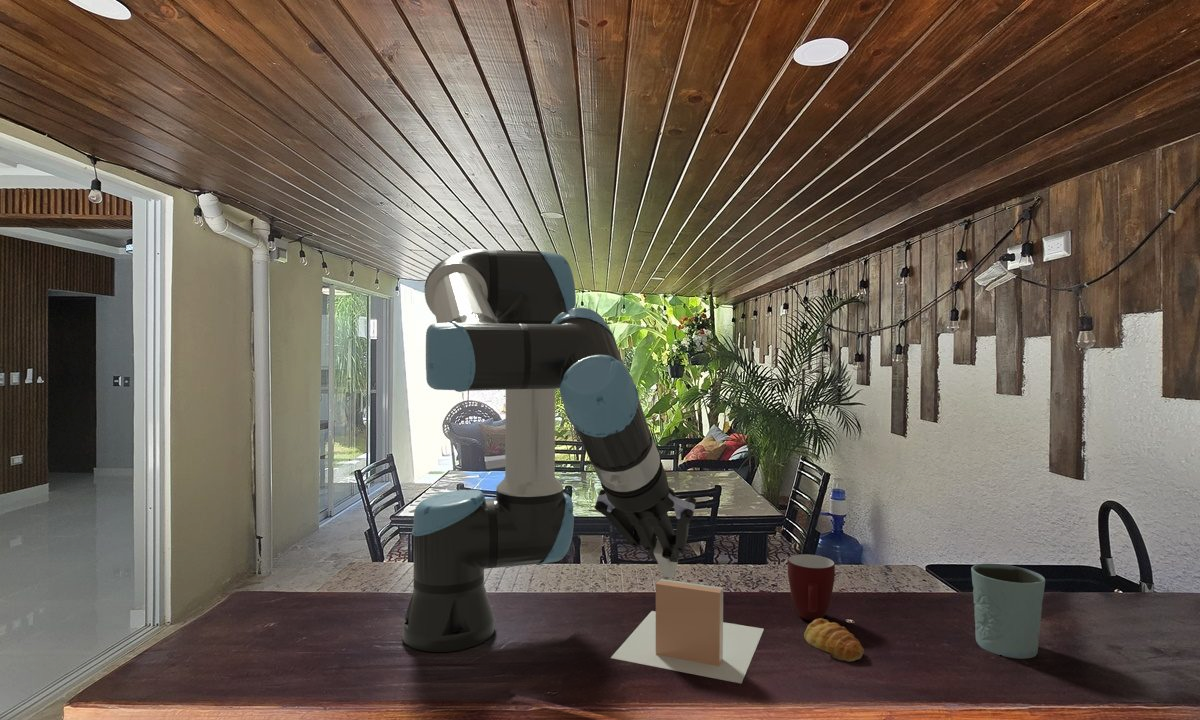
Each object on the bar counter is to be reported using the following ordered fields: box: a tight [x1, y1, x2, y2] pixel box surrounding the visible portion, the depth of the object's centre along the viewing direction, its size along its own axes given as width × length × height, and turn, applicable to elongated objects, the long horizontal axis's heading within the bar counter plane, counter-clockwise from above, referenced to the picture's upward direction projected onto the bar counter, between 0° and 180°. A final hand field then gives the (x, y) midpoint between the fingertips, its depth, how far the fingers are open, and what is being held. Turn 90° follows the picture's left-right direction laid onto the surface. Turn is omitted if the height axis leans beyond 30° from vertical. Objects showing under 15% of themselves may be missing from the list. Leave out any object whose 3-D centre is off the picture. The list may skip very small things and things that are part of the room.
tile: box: [655, 578, 724, 666], centre depth 102 cm, size 10×2×11 cm, turn 67°
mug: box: [787, 553, 836, 622], centre depth 118 cm, size 11×8×10 cm
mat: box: [610, 610, 765, 685], centre depth 107 cm, size 20×20×1 cm
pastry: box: [803, 618, 865, 663], centre depth 106 cm, size 9×7×4 cm
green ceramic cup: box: [970, 563, 1046, 660], centre depth 107 cm, size 10×10×12 cm
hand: (671, 568), depth 92 cm, fingers closed
